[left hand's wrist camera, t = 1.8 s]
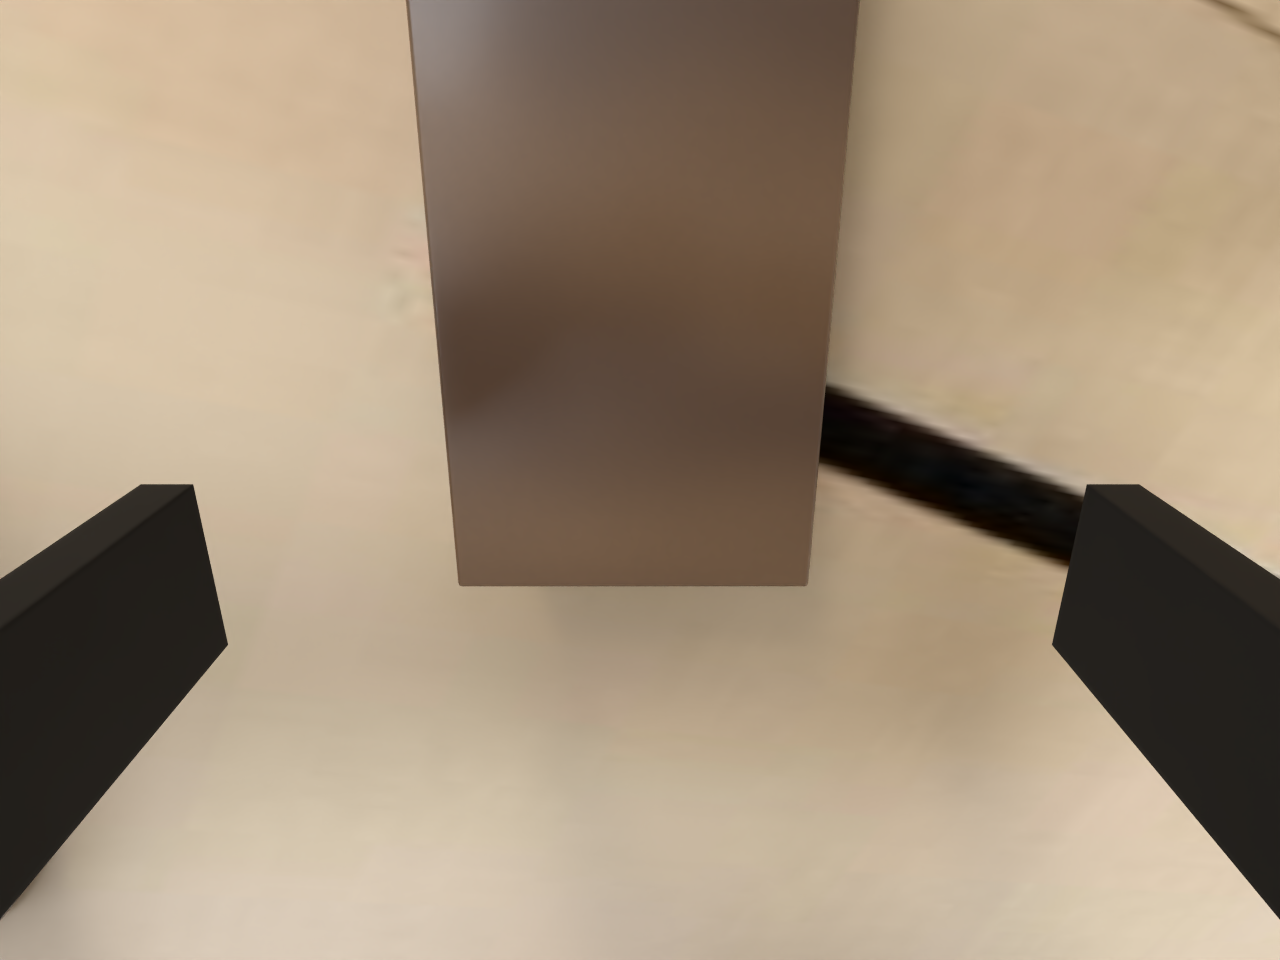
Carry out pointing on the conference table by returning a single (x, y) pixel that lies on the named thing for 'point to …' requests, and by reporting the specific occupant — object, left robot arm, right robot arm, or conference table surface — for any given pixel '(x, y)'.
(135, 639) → the left robot arm
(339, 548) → the conference table surface
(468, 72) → the thick board
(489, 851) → the conference table surface
